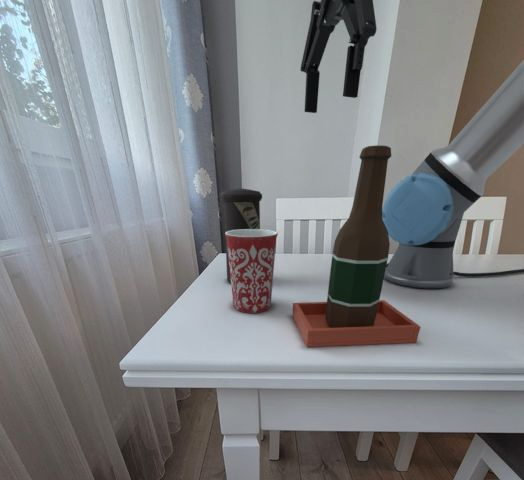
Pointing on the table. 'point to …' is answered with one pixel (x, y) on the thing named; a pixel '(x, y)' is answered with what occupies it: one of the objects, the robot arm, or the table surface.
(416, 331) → the red tray
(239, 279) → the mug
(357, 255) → the beer bottle
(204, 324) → the table surface
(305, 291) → the table surface
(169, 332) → the table surface
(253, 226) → the container
